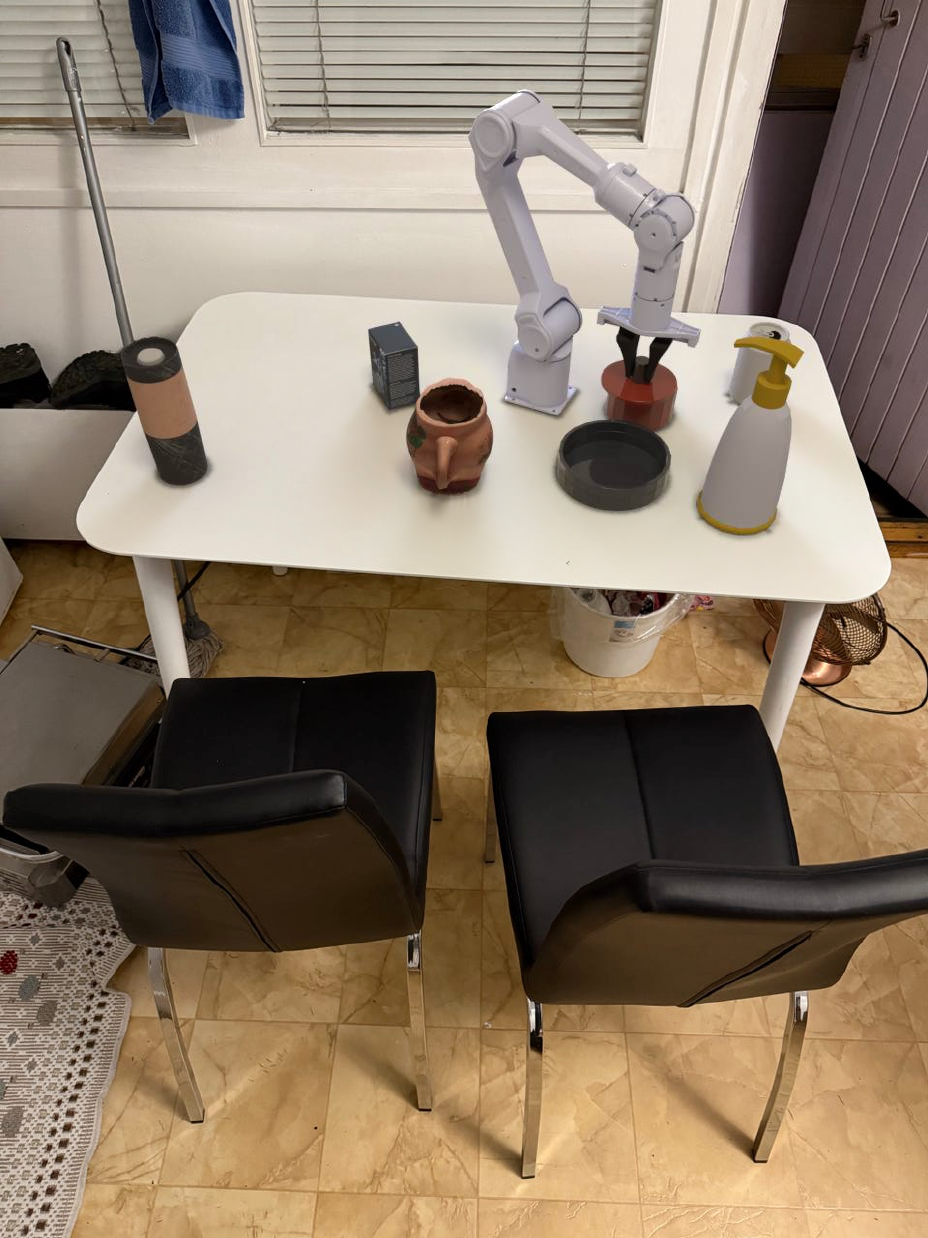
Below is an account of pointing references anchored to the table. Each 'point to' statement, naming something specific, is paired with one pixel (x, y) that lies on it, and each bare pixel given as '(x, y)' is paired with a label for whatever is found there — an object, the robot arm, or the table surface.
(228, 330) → the table surface
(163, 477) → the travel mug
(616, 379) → the lid
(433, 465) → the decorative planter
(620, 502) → the pan
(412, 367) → the box
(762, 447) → the soap bottle
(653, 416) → the reddish brown bowl
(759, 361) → the can
